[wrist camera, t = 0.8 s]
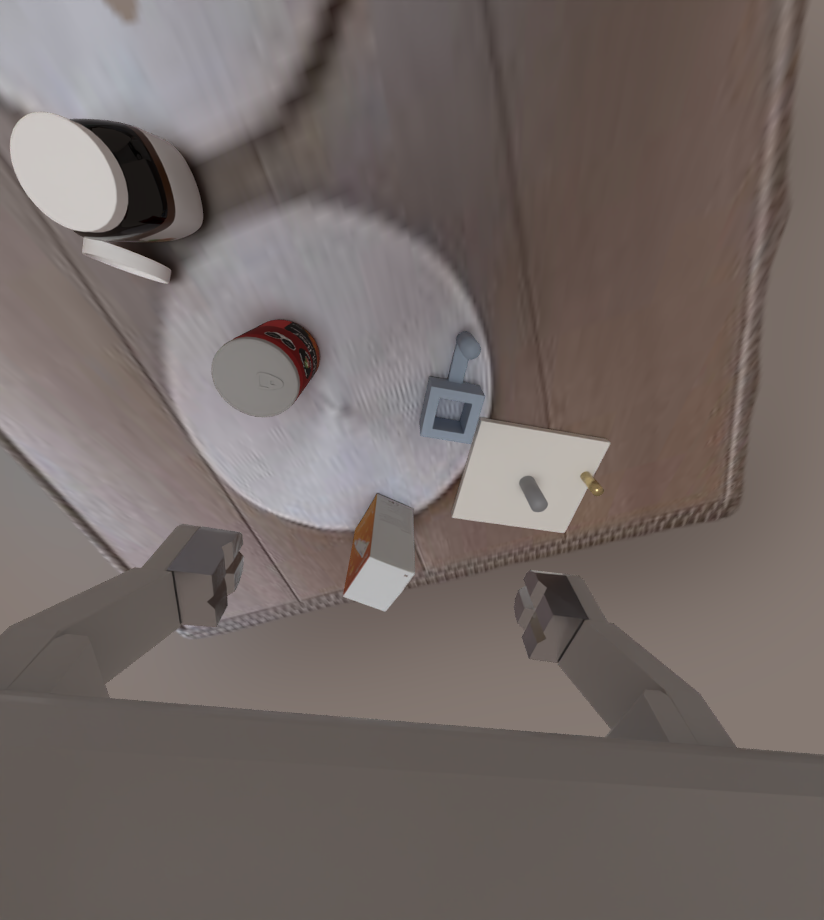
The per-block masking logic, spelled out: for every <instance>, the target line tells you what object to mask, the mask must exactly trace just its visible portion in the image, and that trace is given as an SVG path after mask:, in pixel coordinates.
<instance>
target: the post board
mask: <svg viewBox="0 0 824 920" xmlns="http://www.w3.org/2000/svg"><path fill="white" fill-rule="evenodd" d="M609 445H610V442H609V441H608V440H607V439H604V438H599V437H593V436H587V435H581V434H575V433H569V432H563V431H558V430H552V429H546V428H540V427H534V426H528V425H522V424H516V423H511V422H505V421H499V420H493V419H487V418H481V417H480V419H479V422H478V425H477V429H476V432H475V435H474V439H473V442H472V445H471V449H470V452H469V455H468V459H467V462H466V465H465V468H464V472H463V475H462V478H461V482H460V485H459V488H458V492H457V495H456V498H455V502H454V505H453V508H452V512H451V514H452V518H459V519H466V520H473V521H480V522H488V523H495V524H502V525H509V526H516V527H524V528H531V529H538V530H545V531H552V532H560V533H565V531H566V529H567V527H568V525H569V523H570V521H571V519H572V517H573V516H574V514H575V512H576V510H577V508H578V506H579V504H580V502H581V500H582V498H583V496H584V494H585V492H586V490H587V488H588V487H587V486H586V484H585V483H584V482H583V481H582V479H581V478H580V475H581V474H582V473H583V472H586V471H587V472H589V473H590V474H591V475H592V476H594V474H595V472H596V470H597V468H598V466H599V464H600V462H601V460H602V458H603V457H604V455H605V453H606V451H607V449H608V447H609Z"/></svg>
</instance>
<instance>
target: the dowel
mask: <svg viewBox="0 0 824 920" xmlns="http://www.w3.org/2000/svg"><path fill="white" fill-rule="evenodd" d="M580 478H581V479H582V481H583V482H584V483H585V484H586V486H587V487H588V488H589V490H590V491H591V492H592V493H593V495H594V496H600V495H602V494H603V492H604V489H603V488H602V487H601V486H600V484H599V483H598V482H597V481H596V480H595V479H594V477H593V476H592V475H591V474H590V473H589V472H587V471H586V472H583V473H582V474H581V475H580Z"/></svg>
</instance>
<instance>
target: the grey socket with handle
mask: <svg viewBox="0 0 824 920" xmlns="http://www.w3.org/2000/svg"><path fill="white" fill-rule="evenodd" d="M480 351H481V347H480V344H479V343H478V342H477V341H476V339H475V338H474V337H473V336H472V334H471V333H469V332H467V331H464V332H461V333H460V334H459V335H458V336H457V339H456V346H455V350H454V355H453V359H452V363H451V367H450V371H449V375H448V379H442V378H437V377H431V376H429V381H428V385H427V390H426V395H425V399H424V404H423V409H422V413H421V418H420V435H421V436H423V437H429V438H436V439H442V440H448V441H454V442H460V443H467V444H471V442H472V439H473V435H474V432H475V429H476V425H477V422H478V419H479V415H480V412H481V409H482V405H483V402H484V399H485V395H484V393H483V391H482V389H481V388H480V386H479V385H475V384H470V383H464V382H463V380H464V376H465V372H466V368H467V364H468V361H469V359H475V358H476V357H478V356H479V354H480ZM439 398H442V399H447V400H453V401H459V402H465V403H464V407H463V411H462V414H461V418H460V421H456V420H451V419H445V418H439V417H435V415H436V411H437V406H438V402H439Z"/></svg>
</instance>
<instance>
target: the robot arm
mask: <svg viewBox="0 0 824 920" xmlns="http://www.w3.org/2000/svg"><path fill="white" fill-rule="evenodd" d="M242 545H243V537H242V534H241V533H240V532H235V531H228V530H222V529H215V528H209V527H199V526H193V525H187V524H181V525H179V526H177V527H176V528H175V529H174V531H173V532H172V533H171V534H170V535H169V536H168V538H167V539H166V540H165V541H164V542H163V543H162V545H161V546H160V547H159V548H158V549H157V550H156V552H155V553H154V554H153V555H152V556H151V557H150V559H149V560H148V561H147V562H146V563H145V564H144V566H143V567H142V568H136V567H135V568H133V569H131V570H128V571H126V572H124V573H122V574H120V575H118V576H116V577H114V578H112V579H109V580H107V581H105V582H103V583H101V584H99V585H97V586H95V587H92V588H90V589H88V590H86V591H84V592H82V593H80V594H78V595H75V596H74V597H71V598H69V599H67V600H65V601H63V602H61V603H58V604H56V605H54V606H52V607H50V608H48V609H46V610H43V611H42V612H39V613H37V614H35V615H33V616H31V617H29V618H26V619H24V620H22V621H20V622H18V623H16V624H14V625H12V626H10V627H9V628H8V629H6V630H5V631H4V632H3V633H2V634H1V635H0V920H824V755H823V754H810V753H796V752H784V751H771V750H759V749H746V748H737V747H736V746H735V744H734V743H733V741H732V740H731V738H730V737H729V735H728V734H727V732H726V731H725V729H724V728H723V727H722V725H721V724H720V722H719V721H718V719H717V718H716V716H715V715H714V713H713V712H712V710H711V709H710V707H709V706H708V705H707V703H706V702H705V700H704V699H703V697H702V696H701V694H700V693H699V692H697V691H696V690H695V689H694V688H693V687H691V686H690V685H689V684H688V683H686V682H685V681H684V680H683V679H681V678H680V677H679V676H678V675H676V674H675V673H674V672H673V671H672V670H670V669H669V668H668V667H667V666H665V665H664V664H663V663H662V662H660V661H659V660H658V659H657V658H656V657H654V656H653V655H652V654H651V653H649V652H648V651H647V650H646V649H644V648H643V647H642V646H641V645H640V644H638V643H637V642H636V641H635V640H633V639H632V638H631V637H630V636H629V635H627V634H626V633H625V632H624V631H622V630H621V629H620V628H619V627H617V626H616V625H615V624H614V623H609V622H608V621H607V619H606V618H605V616H604V614H603V613H602V611H601V609H600V607H599V606H598V604H597V602H596V601H595V599H594V597H593V595H592V593H591V592H590V590H589V588H588V586H587V585H586V583H585V581H584V580H583V578H581V577H580V576H579V575H570V574H559V573H550V572H543V571H535V570H530V571H528V572H527V573H526V575H525V577H524V582H525V585H526V586H524V587H523V588H521V589H519V590H518V593H517V595H516V598H515V605H514V610H515V617H516V620H517V623H518V624H519V625H520V626H521V627H522V628H523V629H524V630H525V632H524V634H523V636H522V639H523V642H524V645H525V648H526V651H527V654H528V658H529V659H533V660H540V661H547V662H555V663H558V665H559V667H560V668H561V669H562V670H563V671H564V673H565V674H566V675H567V676H568V678H569V679H570V680H571V681H572V682H573V684H574V685H575V686H576V687H577V689H578V690H579V691H580V692H581V693H582V695H583V696H584V697H585V698H586V699H587V700H588V702H589V703H590V704H591V706H592V707H593V708H594V709H595V710H596V712H597V713H598V714H599V715H600V716H601V717H602V719H603V720H604V721H605V723H606V724H607V725H608V726H609V727H610V728H611V731H610V732H609V733H608V734H607V736H606V737H594V736H582V735H569V734H557V733H543V732H531V731H518V730H505V729H493V728H480V727H467V726H455V725H441V724H429V723H415V722H404V721H391V720H378V719H366V718H351V717H340V716H328V715H315V714H302V713H290V712H277V711H263V710H252V709H238V708H226V707H214V706H201V705H189V704H176V703H163V702H151V701H138V700H125V699H112V698H110V697H109V694H108V691H107V688H106V686H105V684H106V683H107V682H109V681H110V680H111V679H113V678H114V677H115V676H116V675H118V674H119V673H120V672H122V671H123V670H124V669H126V668H127V667H128V666H129V665H131V664H132V663H133V662H135V661H136V660H137V659H139V658H140V657H141V656H142V655H144V654H145V653H146V652H148V651H149V650H150V649H151V648H153V647H154V646H156V645H157V644H158V643H159V642H161V641H162V640H163V639H165V638H166V637H167V636H169V635H170V634H171V633H172V632H174V631H175V630H176V629H178V628H179V627H180V625H194V626H207V627H217V625H218V623H219V621H220V619H221V617H222V615H223V613H224V611H225V609H226V607H227V606H228V602H227V596H228V595H230V594H231V593H233V592H234V591H235V590H236V588H237V586H238V584H239V581H240V578H241V574H242V571H243V563H244V562H243V555H242V554H241V553H240V552H239V550H240V548H241V546H242Z"/></svg>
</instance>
